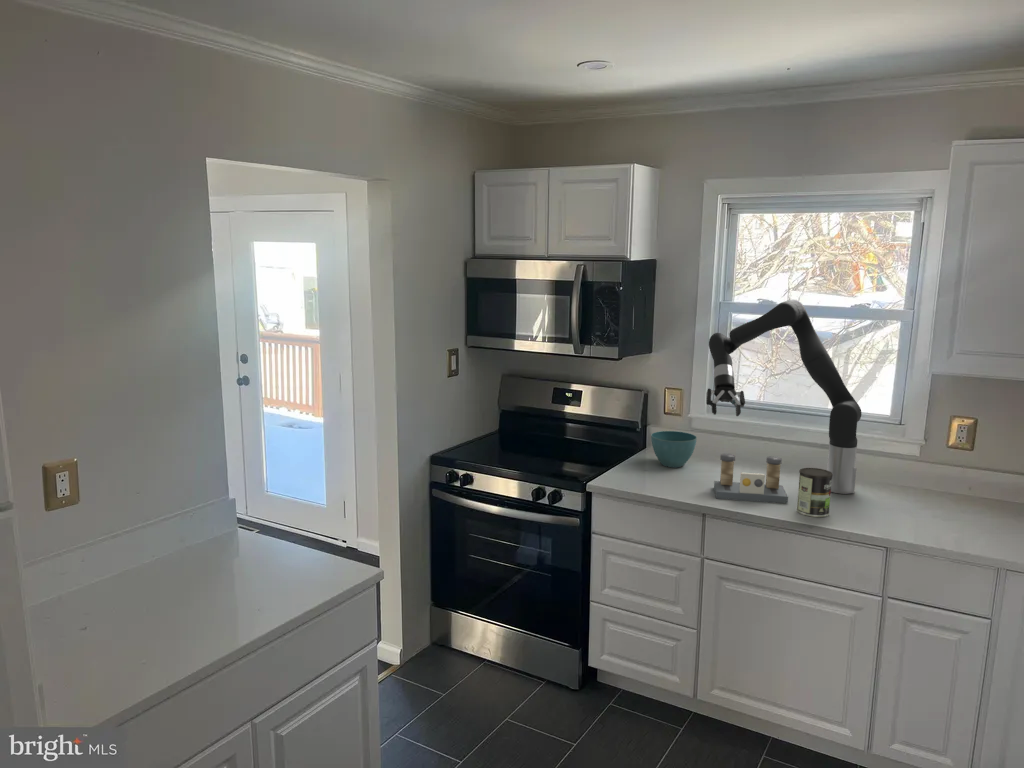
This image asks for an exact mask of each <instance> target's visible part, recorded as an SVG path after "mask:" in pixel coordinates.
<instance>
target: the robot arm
mask: <svg viewBox="0 0 1024 768" xmlns="http://www.w3.org/2000/svg"><path fill="white" fill-rule="evenodd" d="M784 327H790V328H791V329H792V331H793V333H794V334H795V336H796V338H797V341H798V347H799V355H800V358H801V362H802V364H803V366H804V367H805V369H806V371H807V373H808V374H809V376H810V378H811V379H812V380H813V381H814V382H815V383H816V384H817V385H818V387H820V389H822V391H823V392H824V393H825V395H826V396H827V398H828V399H829V402H830V404H831V406H832V408H831V411H830V414H829V425H828V438H829V443H828V445H829V446H828V455H827V456H828V457H827V465H826V466H827V468H826V470H827V471H830V472H832V474H833V476H832V483H831V493H835V494H842V495H843V494H844V495H845V494H846V495H847V494H855V490H856V488H855V487H856V479H857V467H856V460H857V450H858V438H857V430H858V423H859V421H860V420H861V417H862V410H861V406H860V405H859V404H858V402H857V400H855V398H854V396H853V395H852V393H851V392H850V391H849V390H848V387H846V385H845V383H844V381H843V379H842V377H841V375H840V372H839V371H838V369H837V367H836V365H835V363H834V361H833V360H832V357H831V356H830V354H829V352H828V350H827V349H826V347H825V346H824V344H823V341H821V338H820V336H819V335H818V333H817V332H816V330H815V328H814V325H813V324H812V321H811V319H810V316H809V314H808V312H807V310H806V308H805V306H804V305H803V303H802V302H801V301H799V300H797V299H789V300H785V301H783V302H780V303H778V304H777V305H776V306H774V307H773V308H772V309H770V310H768V311H767V312H765V314H763V315H760V317H759V316H758V317H757V318H755V319H752V320H750V321H748V322H745V323H743V324H740V325H739V326H736V327H735V328H733V329H731V330H730V332H729V337H728V336H727V335H725V334H723V333H721V332H715V333H713V334H712V335H711V336H710V337H709V340H708V347H709V348H708V349H709V352H710V354H711V358H712V360H713V370H714V371H713V382H714V383H713V384H714V390H713V389H711V388H709V387H708V388H707V391H706V400H705V401H706V402H705V403H706V405H707V406H708V405H709V406H711V413H712V414H713V415H714V416H715V415H717V413H718V412H717V404H718V403H719V402H722V403H731V404H732V405H733V407H735V416H736V417H739V416H740V415H741V413H742V409H741V408H744V407H745V404H746V399H745V398H746V397H745V393H744V391H743V390H740V391H736V386H735V373H734V368H733V358H732V356H731V355H730V354H733V353H734V352H735V351H736V350H737V349H738V348H739V347H741V346H742V345H745V344H746V343H748V342H751V341H753V340H755V339H757V338H758V337H761V336H762V335H763V334H765V333H768V332H769V331H772V330H776V329H778V328H779V329H780V328H784ZM713 395H714V396H715V398H714V399H713V400H712V398H711V397H712V396H713ZM737 397H738V398H737ZM738 399H739V400H738Z"/></svg>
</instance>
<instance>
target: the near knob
mask: <svg viewBox="0 0 1024 768" xmlns="http://www.w3.org/2000/svg"><path fill="white" fill-rule="evenodd" d="M765 459H766V461H765V462H766V473H765V484H766V487H767V488H775V489H779V485H780V477H781V476H780V474H781V465H782V461H783V459H782V457H779V456H772V455H771V456H767V457H766V458H765Z"/></svg>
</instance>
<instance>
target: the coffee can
mask: <svg viewBox="0 0 1024 768" xmlns="http://www.w3.org/2000/svg"><path fill="white" fill-rule="evenodd" d="M798 473H799V477H798V478H799V479H798V489H797V491H798V492H797V504H796V512H797V513H799V514H801V515H804V516H805V517H806V516H807V517H813V518H824V517H827V516H829V515H830V505H831V503H830V502H831V493H832V492H831V483H832V476H833V474H832V472H830V471H827V469H823V468H820V467H819V468H817V467H804V468H803V467H802V468H800V469H799V472H798Z"/></svg>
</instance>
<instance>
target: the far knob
mask: <svg viewBox="0 0 1024 768" xmlns="http://www.w3.org/2000/svg"><path fill="white" fill-rule="evenodd" d="M735 461H736V455H735V454H732V453H720V483H721V485H732V484H733V482H734V479H733V478H734V465H735Z"/></svg>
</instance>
